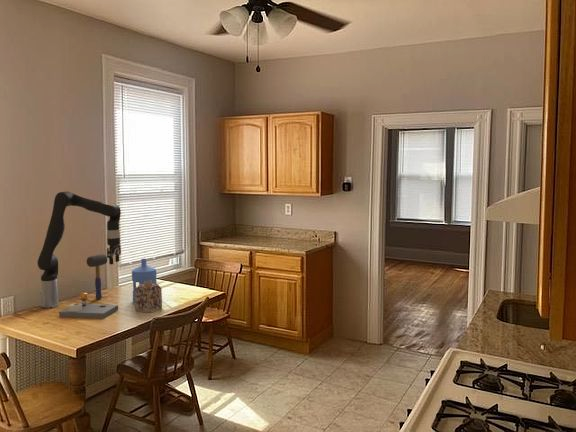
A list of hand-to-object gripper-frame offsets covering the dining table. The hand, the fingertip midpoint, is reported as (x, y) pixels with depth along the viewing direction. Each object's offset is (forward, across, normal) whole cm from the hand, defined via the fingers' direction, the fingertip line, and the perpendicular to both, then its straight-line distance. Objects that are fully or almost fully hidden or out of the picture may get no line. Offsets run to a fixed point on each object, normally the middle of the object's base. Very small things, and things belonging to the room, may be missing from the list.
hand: (114, 262), depth 312 cm
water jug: (+29, -19, +12) cm, 36 cm away
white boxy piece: (+26, +16, -18) cm, 35 cm away
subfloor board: (+29, +12, -12) cm, 33 cm away
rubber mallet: (+29, -21, -21) cm, 42 cm away
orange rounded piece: (+26, +6, -17) cm, 32 cm away
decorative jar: (+29, +2, +22) cm, 36 cm away
